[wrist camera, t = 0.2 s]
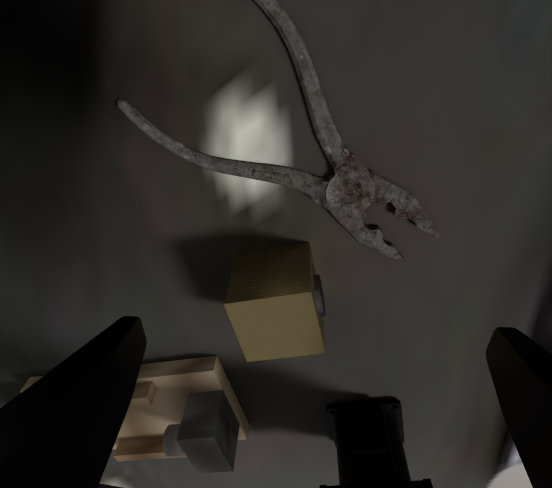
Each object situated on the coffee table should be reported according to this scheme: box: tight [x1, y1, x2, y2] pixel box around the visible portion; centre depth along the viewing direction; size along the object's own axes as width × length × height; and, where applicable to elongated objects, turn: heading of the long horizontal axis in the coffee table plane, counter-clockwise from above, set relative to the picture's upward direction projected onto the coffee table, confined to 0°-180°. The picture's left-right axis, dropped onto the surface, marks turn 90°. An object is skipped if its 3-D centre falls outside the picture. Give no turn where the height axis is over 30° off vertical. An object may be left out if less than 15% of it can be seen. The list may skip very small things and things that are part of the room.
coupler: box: [224, 242, 326, 362], centre depth 24 cm, size 5×6×5 cm
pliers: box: [117, 0, 440, 264], centre depth 20 cm, size 10×1×20 cm
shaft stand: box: [20, 356, 249, 473], centre depth 33 cm, size 18×10×6 cm, turn 103°
